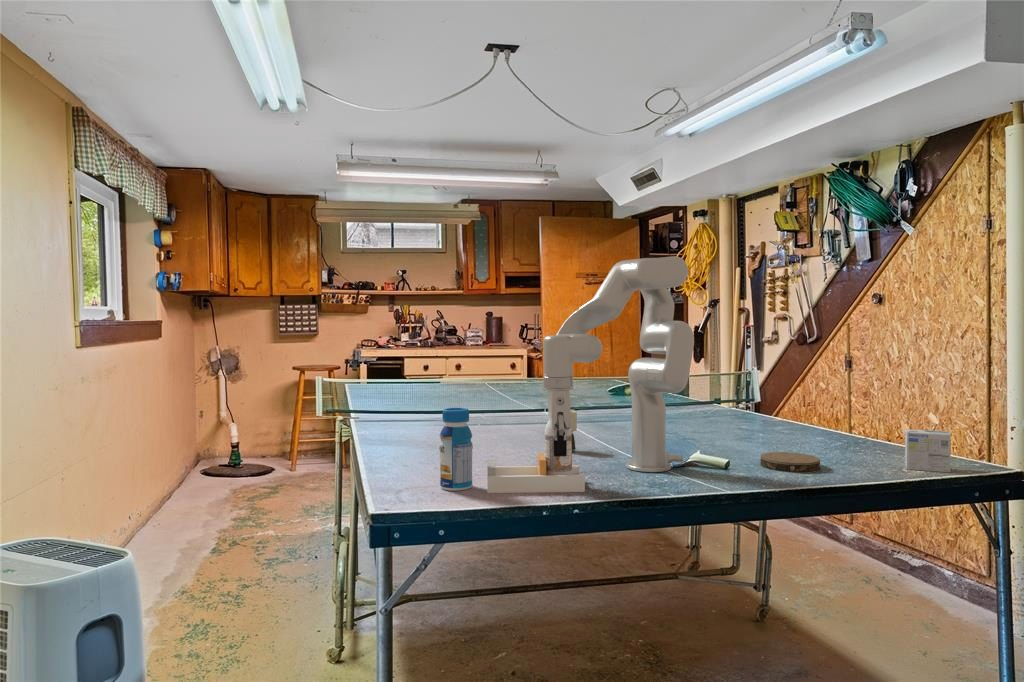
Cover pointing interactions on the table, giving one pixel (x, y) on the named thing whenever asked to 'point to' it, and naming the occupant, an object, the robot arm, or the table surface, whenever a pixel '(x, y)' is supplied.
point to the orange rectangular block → (541, 464)
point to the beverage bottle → (455, 450)
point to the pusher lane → (531, 480)
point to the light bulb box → (927, 450)
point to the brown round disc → (790, 462)
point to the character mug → (573, 426)
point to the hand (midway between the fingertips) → (558, 452)
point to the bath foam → (557, 463)
